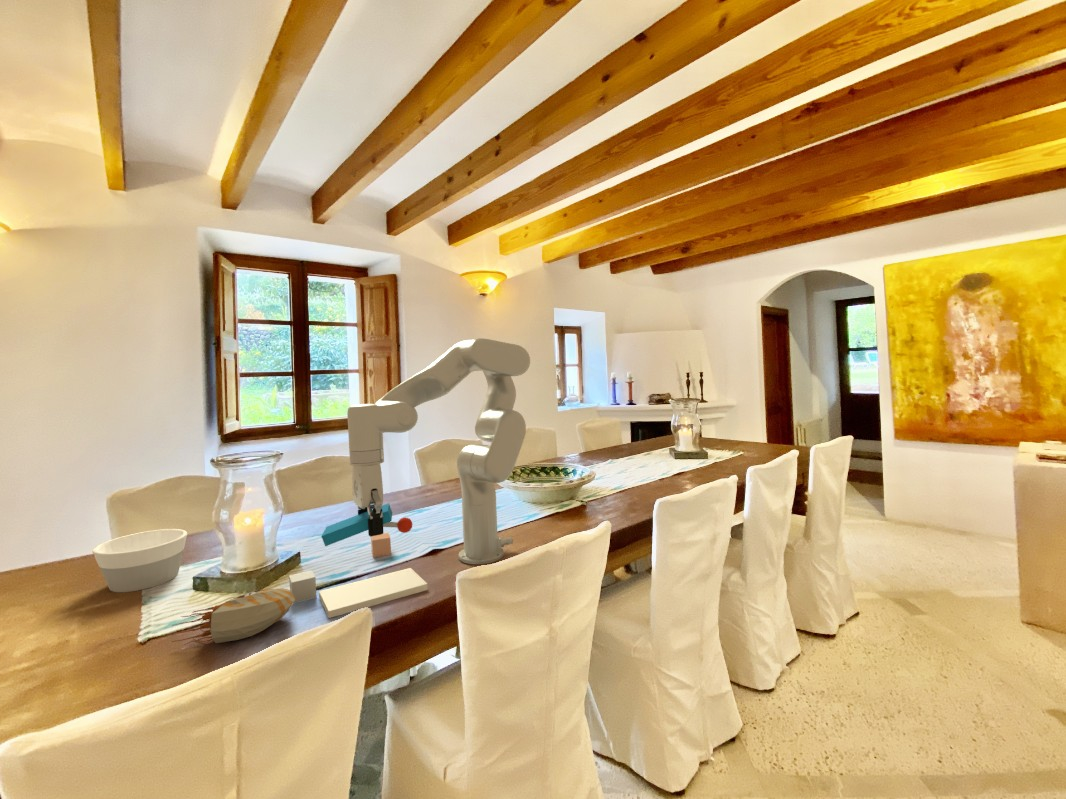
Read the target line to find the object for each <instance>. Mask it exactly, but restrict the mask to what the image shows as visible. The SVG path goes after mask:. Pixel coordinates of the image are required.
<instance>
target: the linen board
mask: <svg viewBox="0 0 1066 799" xmlns="http://www.w3.org/2000/svg"><path fill="white" fill-rule="evenodd" d="M425 591H428V582H426V581H425V580H424V578H422V577H421V576H420V575H419V574H418V573H417V572H415V570H414V569H413V568H412V567H408V568H404V569H401V570H396V571H393V572H389V573H384V574H381V575H377V576H373V577H369V578H366V579H365V578H364V579H361V580H357V581H354V582H350V583H346V584H345V583H344V584H341V585H338V586H334V587H330V588H326V589H322V590H318V596H319V597H318V598H319V599H320V600H319V601H320V602H321V604H322V606H323V609H324V610H325V612H326V615H327V617H328V618H329V619H331V618H334V617H337V616H342V615H344V614H347V613H348V614H349V613H351V612H356V611H358V610H357V609H359V610H361V609H360V608H363V609H365V608H364V607H366V608H369V607H372V606H376V605H379V604H384V603H386V602H390V601H393V600H397V599H401V598H405V597H408V596H410V595H411V596H412V595H414V594H418V593H421V592H425ZM355 610H356V611H355Z"/></svg>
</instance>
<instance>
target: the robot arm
mask: <svg viewBox="0 0 1066 799" xmlns="http://www.w3.org/2000/svg"><path fill="white" fill-rule="evenodd" d="M530 365H531V357H530V354H529V352H528V351H527V350H526V348H524V347H523V346H521V345H519V344H514V343H510V342H505V341H504V342H503V341H500V340H494V339H490V338H482V337H479V338H478V337H477V338H473V339H465V340H461V341H459V342H457V343H455V344H454V345H452V347H450V348H448V349H447V350H446V352H444V353H443V354H442V355H440V356H439V357H438V358H437V359H435V361H433V362H432V363H430V365H428V366H427V367H426V368H424V369H423V370H421V371H419V372H417V373H416V374H414V375H412V377H411V376H410V378H408V379H406V380H404V381H403V382H400V384H398V385H397V386H394V388H393V387H392V389H391V390H389V391H388V392H387V393H386V394H384V395H383V396H382V397H381V398H380V399H378V400H376V402H375V403H361V404H353V405H350V406H349V407H348V408H347V411H346V412H347V428H348V429H347V432H348V448H349V450H348V452H349V454H348V455H349V465H350V466H352V501H353V503H354V504H355V505H356V506H357V509H358V510H357V515H359V514H362V513H364V512H367V511H368V514H369V519H368V530H367V534H368V536H369V537H370V538H371V536H376V535H381V534H383V533H384V527H383V514H382V508H381V507H382V506H383V505H384V488H383V486H384V484H383V475H382V474H383V473H382V466H381V464H383V463H384V462H385V457H384V456H385V455H384V436H383V435H384V433H392V434H393V433H394V434H395V433H396V434H398V433H407V432H408V431H411V430H412V429H413V428H414V427H415V426H416V424H417V423H418V418H419V415H418V412H417V409H416V407H418V406H419V405H422V404H425V403H427V402H429V401H434V400H436V399H440V398H442V397H443V396H446V395H447V394H449V393H450V392H451V391H452V390H453V389H454V388H456V386H458V385H459V384H460V383H461V382H462V381H464V379H465V378H467V377H468V376H469V375H470V374H471V373H473V372H479V371H482V373H483V374H484V377H485V379H486V383H487V392H486V395H485V399H484V401H483V403H482V406H481V408H480V411H479V414H478V417H477V419H476V421H475V426H474V431H475V435H476V437H478V439H480V440H482V441H484V442H487V443H490V445H489V444H488V445H487V444H480V443H471V444H468V445H466V446H464V447H463V448H461V450H460V451H459V453H458V455H457V459H456V468H457V472H458V477H459V482H460V489H461V509H462V510H461V511H462V512H461V514H462V533H463V534H462V535H463V549H461V550H460V551H459V552H458V560H459V561H460V562H462V563H465V564H470V565H486V564H487V565H488V564H492V563H494V562H496V561H499V560H501V559H502V558H503V557H504V555H505V554H504V552H505V551H504V549H503V548H504V547H505V546H508V545H512V544H513V543H514V538H513V537H512V536H508V537H505V536H499V537H498V516H497V513H498V512H497V492H496V487H495V484H501V483H504V482H505V481H507V480H508V478H510V476H511V475H512V472H513V471H514V468H515V465H516V463H517V460H518V458H519V455H520V452H521V449H522V447H523V443H524V440H525V437H526V433H527V425H526V420H525V418H524V416H523V415H522V414H521V413H520V412H519V411H517V410H513V409H514V406H515V403H516V400H517V399H516V398H517V389H516V386H515V382H514V381H513V378H512V377H519V376H523V375H524V374H525V373H526V372H528V369H529V368H530ZM372 509H373V510H372ZM371 510H372V511H371Z"/></svg>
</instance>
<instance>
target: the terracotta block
mask: <svg viewBox="0 0 1066 799" xmlns="http://www.w3.org/2000/svg"><path fill="white" fill-rule="evenodd" d="M391 543H392V542H391V535H390V533H389V532H383V534H381V535H376V536H371V537H370V545H371V546H370V547H371V555H372V558H377V557H384V556H388V555H389V556H390V555H392V546H391Z"/></svg>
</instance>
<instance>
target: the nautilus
mask: <svg viewBox="0 0 1066 799" xmlns="http://www.w3.org/2000/svg"><path fill="white" fill-rule="evenodd" d="M294 601H295V597H294V596H293V594H292V593H291V591H290V589H287V588H264V589H255V590H252V591H250V592H247V593H245V594H242V595H239V596H237V597H233V598H230V599H228V600H227V601H224V602H223V603H221V604H218V605H215V606H211V607H207V608H204V609H198V610H193V611H192V612H191V614H189V615H183V616H180V617H181V618H187V617H190V618H194V617H198V616H201V617H200V618H197V619H194V620H190V621H189V620H188V621H185V622H180V623H175V624H172V625H171V627H173V626H177V625H183V624H188V623H195V622H200V623H203V622H204V621H207V623H203V624H202V625H199V627H196V628H191V629H187V630H183V631H177V632H176V634H185V633H188V632H194V631H195V632H196V631H199V630H200V631H202V634H197V635H193V636H191V637H187V638H182V639H177V640H171V642H172V643H173V642H174V643H175V642H181V641H185V640H187V641H188V640H190V639H192V640H191V641H189V642H187V643H185V644H183V646H186V645H188V644H190V643H194V642H201V644H199V645H198V646H197V647H198V648H199V647H200V646H202V645H204V644H207V643H211V642H214V643H215V644H219V643H226V642H231V641H238V640H239V641H240V640H241V639H242V640H243V639H246V638H248V637H249V638H250V637H253V636H254V635H256V634H258V633H261V632H262V631H264V630H266V629H268V628H269V627H271V626H272V625H273V624H275V623H277V622H278V621H280V620H281V619H283V617H284V616H286V614H287V613H288V612H289V610H290V609H291V607H292V605H294V603H293V602H294ZM211 610H212V611H211ZM201 611H206V612H201ZM197 612H199V613H197ZM203 629H209V630H203ZM196 638H198V639H196ZM203 639H206V640H203ZM202 642H203V643H202Z"/></svg>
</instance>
